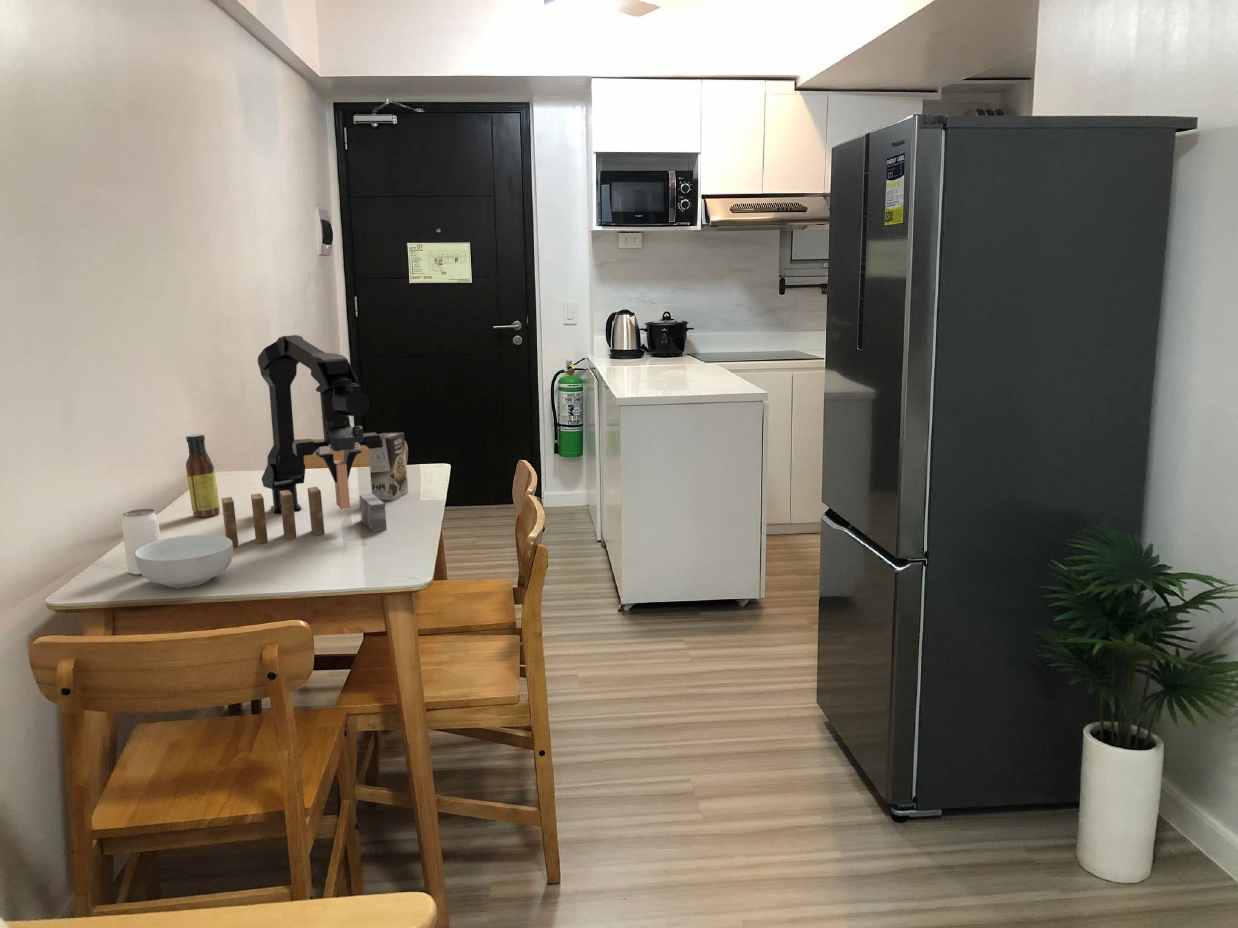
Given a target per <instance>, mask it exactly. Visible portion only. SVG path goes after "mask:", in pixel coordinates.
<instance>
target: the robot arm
mask: <svg viewBox="0 0 1238 928" xmlns="http://www.w3.org/2000/svg"><path fill="white" fill-rule="evenodd" d="M257 364H258V367H259V371H260V376H261V377H262V378H263V380H264V381H265V383H266V384H267V386H268V388H269V401H270V417H271V426H272V428H271V429H272V441H273V442H272V443H273V444H272V448H271V449H270V451H269V453H268V454H267V465H266V467H265V470H264V472H263V473H262V477H261V482H262V486H263V487H264V488H267V489H270V490H271V493H272V502H273V503H272V504H273V505H271V506H270V509H271V510H272V512H273V513H275V514H277V513H278V514H280V513H282V511H281V500H280V491H285V490H289V491H290V492H291V493H292V495H293V505H294V512H295V511H301V510H302V509H303V508H302V506H301V505H300V504H299V503H298V501H299V500H298V491H297V485H299V484H304V483H305V478H306V476H305V475H306V464H305V456H312V455H314V453H315V455H316V456H317V457H319V458H322V459H323V461H324V463H325V464H326V466H327V468H328V470H329V473H330V474H331V478H332V479H333V482H334V484H335V483H337V475H336V470H335V465H334V461H335V459H334V453H333V452H341V451H343V462H345V463H346V465H347V477H348V479H349V477H350V473H351V470H352V466H353V464H354V461H355V459H356V457H357V456H358V454H362V453H363V451H362V450H361V447H362V446H365V447H367V448H368V450H369V449H372V448H381V447H383V443H382V437H381V436H380V435H379V434H378V433H376V432H375V431H373V432H364V429H363V426H362V425H356V426H355V425H354V426H353V427H352V425H351V421H350V417H355V418H360V417H364V416H365V415H366V414H367V413H368V412H369V410H370V406H371V400H370V399H369V396H368V394H366V393H365V392H364V391H362V390H361V385H360V383H359V378H358V376H357V375H356V373H355V371H354V369H353V367H352V365H351V362H350V361H349V359H348V358H347V357H346V356H345V355H342V354H340V353H339V354H338V353H333V352H325V351H323V350H321V348H318V347H317V346H315V345H313V344H312V343H310V342H309V341H307V340H305V339H304V338H303V337H302V336H301V335H299V334H298V335H297V334H293V335H291V334H290V335H282V336H279V337H278V338H277V340H276V341H275V342H273V343H271V344H270V345H267V346H266V347H264V348H263V349H262V351H261V352H260V353H259V355H258V357H257ZM299 364H302V366H305V367H307V368H308V369H309V370H310V376H311V377H312V378H313V379H314V380H315V381H316V382H317V383H318V386H317V387H316V388H315V391H316V392H317V393H319V396H320V407H321V408H320V409H321V419H322V431H323V432H322V433H323V440H322V441H314V440H312V438H304V439H295V432H294V431H295V430H294V428H295V427H294V417H293V416H294V415H293V400H292V389H291V387H292V384H293V382H294V379H296V376H297V373H298V369H297V368H298V365H299ZM331 450H332V451H333V452H332V451H331Z"/></svg>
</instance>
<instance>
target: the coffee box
mask: <svg viewBox="0 0 1238 928" xmlns="http://www.w3.org/2000/svg"><path fill="white" fill-rule="evenodd" d="M378 435H380V436H381V437H382V443H383V447H381V448H372V449H369V448H368V458H369V459H368V460H369V472H370V488H371V494H374V495H375V496H376V497H377V498H378V499H380V500H381V501H394V500H397V499H399V498H401V497H403V496H404V495H407V494H408V493H409V483H408V470H407V469H408V468H407V455H406V452H407V451H406V442H405V441H406V440H405V432H382V433H379V434H378Z"/></svg>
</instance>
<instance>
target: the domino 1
mask: <svg viewBox="0 0 1238 928" xmlns="http://www.w3.org/2000/svg"><path fill="white" fill-rule="evenodd" d="M221 505H222V516H223V522H224V535H225V537H227V538H229V539H230V540H231V541H232V543H233V549H235V548H239V538H238V530H237V529H238V528H237V521H236V519H237V518H236V510H235V502H234V500H233V498H232V496H228V497H226V496H225V497H222V498H221Z"/></svg>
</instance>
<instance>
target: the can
mask: <svg viewBox="0 0 1238 928" xmlns="http://www.w3.org/2000/svg"><path fill="white" fill-rule="evenodd" d="M121 527H122V536H123V544H124V550H125V551H124V552H125V558H126V566H127V567H126V568H127V571H128V573H131V574H130V575H132V574H141V573H140V572H139V570H138V568H137V564H136V560H135V552H136V551H137V550H138V549H139V548H140V547H142V546H144V545H147V544H149V543H152V542H155V541H159V540H162V538H161V532H160V530H161V529H160V525H159V517H158V516H157V514H156V513H155V509H153V508H140V509H139V508H137V509H132V510H131V509H130V510H128V511H125V512H123V513H122V519H121Z"/></svg>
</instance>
